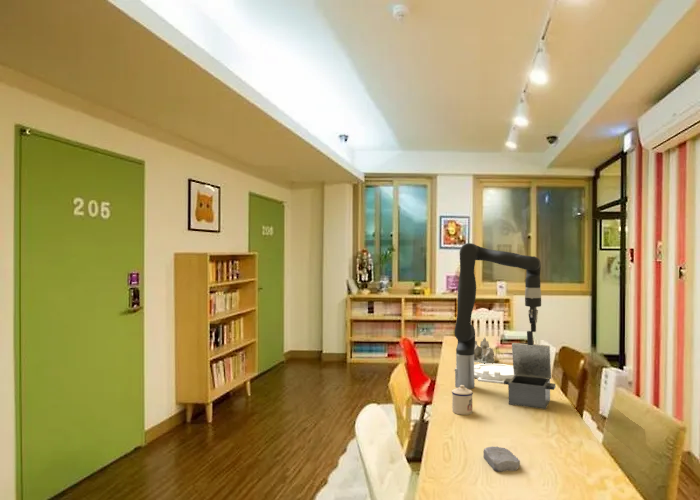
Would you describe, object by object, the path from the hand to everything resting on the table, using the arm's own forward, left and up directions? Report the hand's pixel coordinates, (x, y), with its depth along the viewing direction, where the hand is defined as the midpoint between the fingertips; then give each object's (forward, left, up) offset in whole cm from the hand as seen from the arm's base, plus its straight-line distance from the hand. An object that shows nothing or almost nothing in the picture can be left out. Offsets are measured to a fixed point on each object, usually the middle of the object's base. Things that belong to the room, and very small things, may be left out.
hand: (533, 331), depth 244 cm
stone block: (+3, -90, -31) cm, 96 cm away
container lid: (-25, +31, -32) cm, 51 cm away
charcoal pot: (0, -15, -31) cm, 34 cm away
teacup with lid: (-24, -42, -31) cm, 57 cm away
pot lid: (0, -9, -11) cm, 14 cm away
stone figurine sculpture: (-42, +66, -31) cm, 84 cm away
